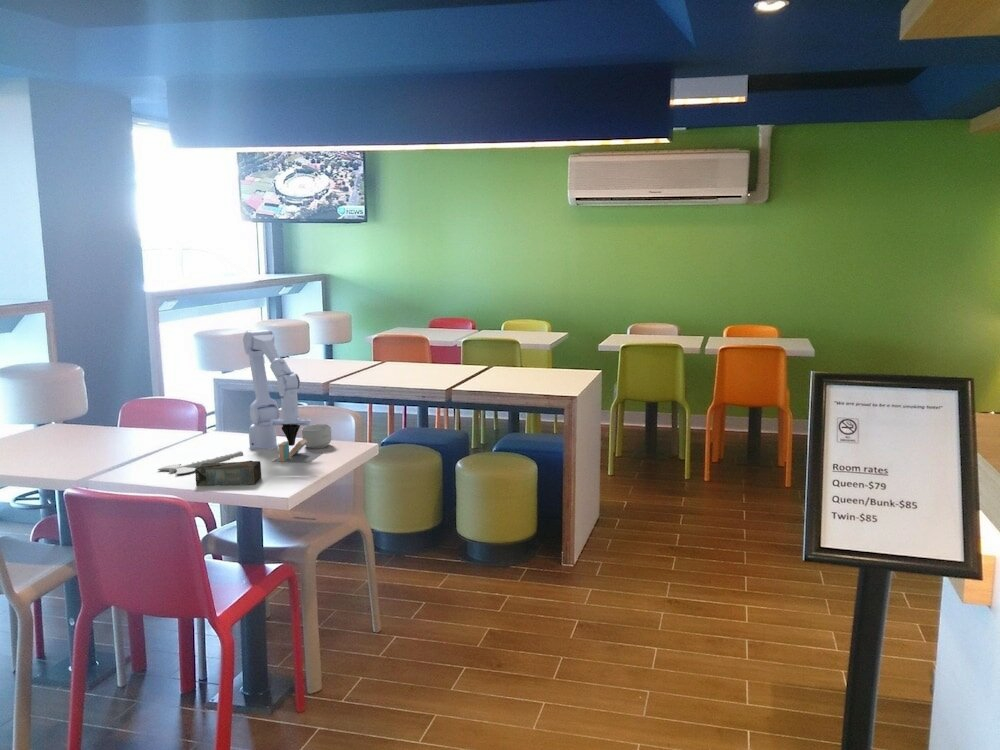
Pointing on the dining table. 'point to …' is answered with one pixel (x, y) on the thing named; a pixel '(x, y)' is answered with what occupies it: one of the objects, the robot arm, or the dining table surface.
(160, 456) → the dining table surface
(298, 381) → the robot arm
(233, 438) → the dining table surface
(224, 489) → the dining table surface
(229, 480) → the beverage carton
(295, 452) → the tile
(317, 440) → the teacup
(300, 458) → the mat
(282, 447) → the tile
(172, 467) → the axe
